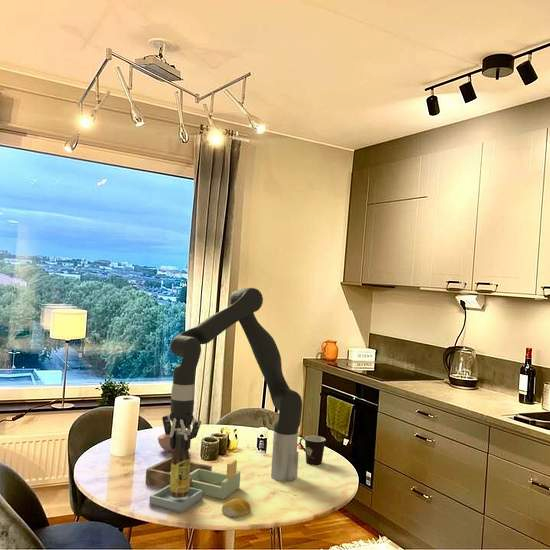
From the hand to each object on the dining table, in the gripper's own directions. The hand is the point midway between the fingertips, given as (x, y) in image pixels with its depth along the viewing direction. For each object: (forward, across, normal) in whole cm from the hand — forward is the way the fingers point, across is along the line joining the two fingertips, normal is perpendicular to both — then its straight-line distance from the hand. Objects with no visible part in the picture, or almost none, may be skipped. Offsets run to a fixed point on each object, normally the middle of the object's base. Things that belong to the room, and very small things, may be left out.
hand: (179, 449), depth 171 cm
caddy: (+17, -4, -15) cm, 23 cm away
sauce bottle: (+15, -1, 0) cm, 15 cm away
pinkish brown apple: (+17, +30, -42) cm, 55 cm away
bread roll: (+18, -20, -3) cm, 27 cm away
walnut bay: (+17, +9, -15) cm, 25 cm away
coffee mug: (+18, -26, -62) cm, 70 cm away
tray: (+17, 0, 0) cm, 17 cm away
